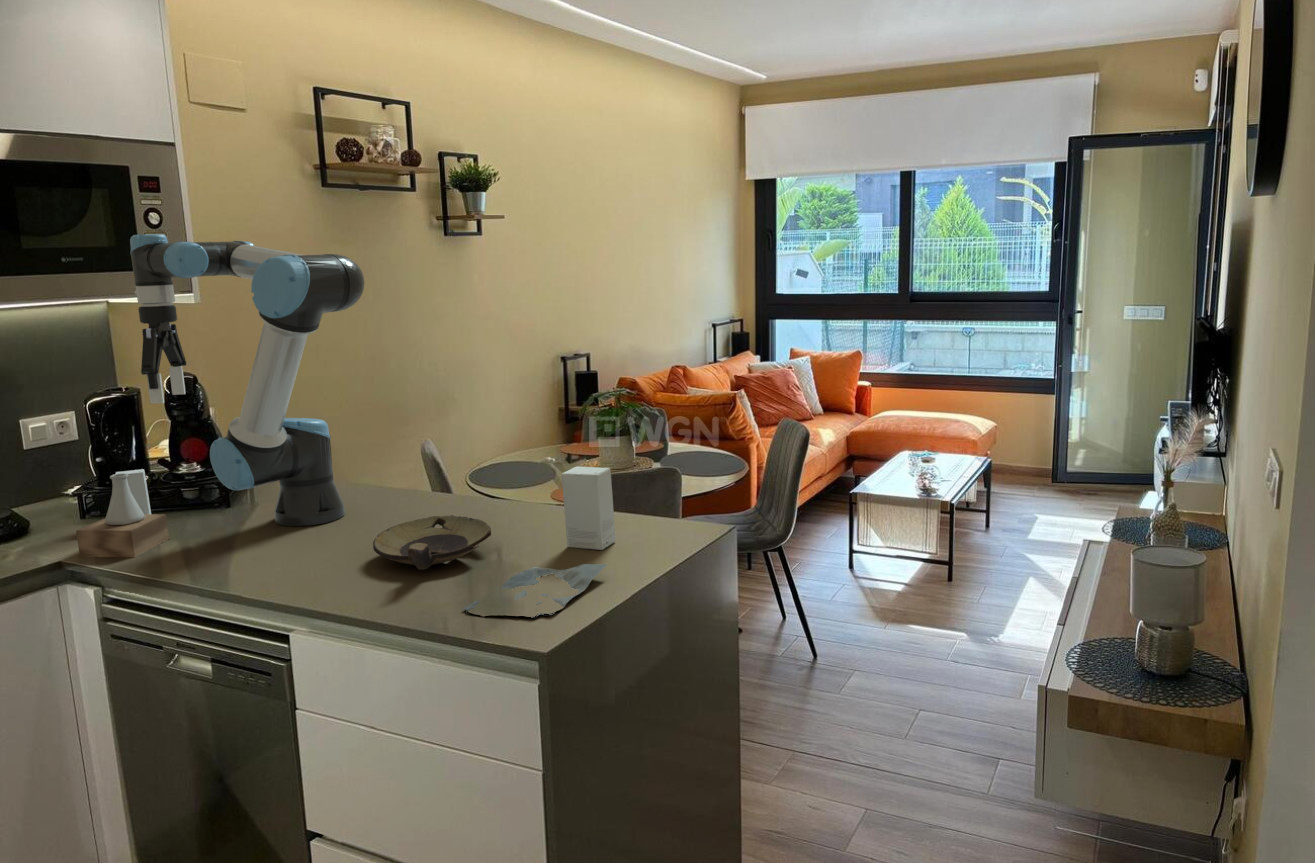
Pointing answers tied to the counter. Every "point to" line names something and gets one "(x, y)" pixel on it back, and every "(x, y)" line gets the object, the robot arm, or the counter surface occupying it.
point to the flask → (122, 503)
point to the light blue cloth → (574, 576)
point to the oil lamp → (431, 540)
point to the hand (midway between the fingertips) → (168, 398)
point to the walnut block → (122, 537)
